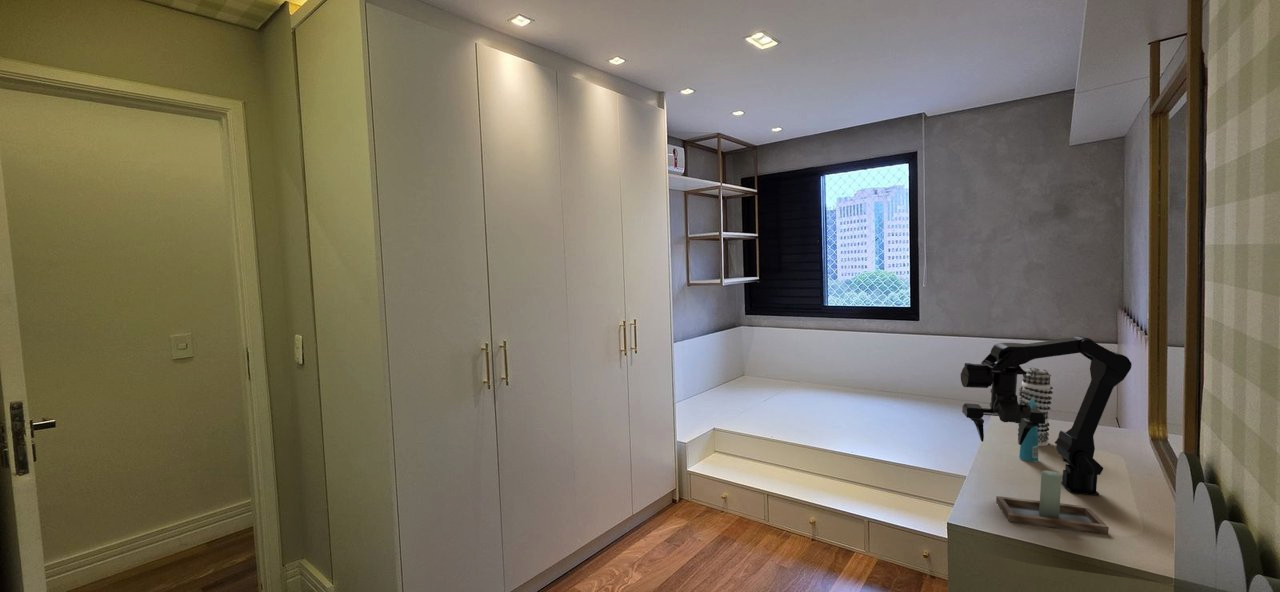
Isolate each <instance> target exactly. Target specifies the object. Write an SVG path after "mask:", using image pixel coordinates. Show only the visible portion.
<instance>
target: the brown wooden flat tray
mask: <svg viewBox="0 0 1280 592" xmlns="http://www.w3.org/2000/svg"><path fill="white" fill-rule="evenodd" d="M995 498H996V501H995V503H996V504H998V505H997V507H999V509H1000V511H1001V510H1002V511H1001V512H1002V514H1003V513H1004V514H1003V515H1004V516H1005V518H1006V520H1007V521H1008V523H1012V524H1013V523H1015V524H1023V525H1030V526H1038V527H1039V526H1040V527H1048V528H1055V529H1062V530H1069V531H1077V532H1083V533H1084V532H1086V533H1092V534H1094V533H1095V534H1102V535H1109V530H1110V528H1109V527H1110V526H1108V525H1107V524H1106V523H1105V522H1104V520H1102V519H1101V518H1100V517H1099V515H1097V514H1096V513H1095V512H1094V511H1093V510H1092V509H1091V508H1090V507H1089V506H1088V505H1087V506H1086V505H1078V504H1070V503H1061V502H1060V511H1059V519H1056V518H1047V517H1041V516H1040V515H1039V505H1040V500H1036V499H1035V500H1034V499H1026V498H1017V497H1009V496H1008V497H1007V496H999V495H997V496H996V497H995Z"/></svg>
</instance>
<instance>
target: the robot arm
mask: <svg viewBox="0 0 1280 592" xmlns="http://www.w3.org/2000/svg"><path fill="white" fill-rule="evenodd" d="M1073 354H1081V355H1083V357H1085V358H1087V359H1088V360H1090V366H1089V374H1090V378H1091V379H1090V383H1089V385H1088V388H1087V390H1086V392H1085V394H1084V397H1083V400H1082V402H1081V405H1080V407H1079V410H1078V412H1077V414H1076V417H1075V419H1074V421H1073V425H1071V426H1072V427H1071V428H1070V429H1068V430H1067V431H1063V430H1060V431H1059V433H1058V436H1057V439H1056V440H1055V441H1054V444H1055V451H1056V452H1057V453H1058V455H1060V456H1061V458H1062V461H1063V462H1064V463H1066V464H1065V465H1064V469H1063V470H1062V480H1061V485H1063V486H1064V487H1065V489H1067V490H1068V491H1069V493H1073V494H1081V495H1091V496H1100V493H1099V492H1098V491H1097V488H1098V487H1097V485H1098V476H1100V475H1101V474H1102V472H1103V471H1104V467H1103V466H1102V465H1101V464H1100V463H1099V462H1098V461H1097V460H1096V459H1094V455H1095V449H1096V448H1095V447H1096V446H1095V440H1094V439H1095V437H1094V436H1095V433H1096V431H1097V428H1098V426H1099V423H1100V421H1101V418H1102V417H1103V415H1104V412H1105V409H1106V406H1107V405H1108V401H1109V399H1110V397H1111V394H1112V392H1113V389H1114V388H1115V387H1116V386H1117V385H1118V384H1120V383H1121V382H1123V381H1124V380H1125V379H1126V377H1127V375H1128V374H1129V373H1130V371H1131V369H1132V367H1133V366H1132V365H1133V363H1132V362H1131V360H1130V359H1129V358H1128V356H1126V355H1124V354H1121V353H1119V352H1115V351H1112V350H1109V349H1107V348H1106V347H1104V346H1102V345H1100V344H1099V343H1097V342H1095V341H1094V340H1092V339H1091V338H1089V337H1086V336H1082V335H1075V336H1074V337H1073V336H1072V337H1067V338H1060V339H1051V340H1045V341H1037V342H1030V343H1021V342H1020V343H1019V342H997V343H995V344H993V347H992V348H991V349H990V353H989V354H988V355H986V357H985V358H984V359H983V360H982V361H981V363H971V362H965V363H964V365H963V368H962V370H961V372H960V383H961V385H962V387H964V388H971V389H973V388H975V389H988V388H989V387H991V388H990V393H991V395H990V397H991V398H990V403H989V407H990V408H987V407H985V408H984V407H982V406H981V405H980V404H979V403H966V402H964V404H963V405H962V409H961V410H962V411H961V412H962V414H963V415H964V416H965V417H966V418H968V419H970V420H971V421H973V423H974V425H975V428H976V431H977V434H978V436H979V439H980V441H981V442H984V438H985V437H984V436H985V431H984V422H985V420H984V419H983V417H984V416H993V417H999V421H1001V422H1003V423H1015V424H1018V425H1019V426H1018V428H1019V432H1018V431H1017V443H1018V445H1019V446H1020V445H1021V444H1022V443H1023V441H1024V439H1025V437H1026V435H1027V434H1028V432H1029V431H1030V429H1031V428H1033V427H1034V426H1039V424H1045V415H1044V414H1043V413H1042V412H1041V411H1039V410H1038V409H1037V408H1031V407H1030V406H1029V405H1023V404H1022V405H1021V404H1019V402H1018V395H1017V387H1018V386H1017V384H1018V375H1022V376H1023V375H1026V374H1027V373H1026V372H1025V370H1024V369H1023V368H1022V366H1021V365H1024V364H1027V363H1029V362H1031V361H1033V360H1036V359H1037V360H1038V359H1042V358H1045V359H1046V358H1050V357H1051V358H1052V357H1058V356H1059V357H1060V356H1066V355H1073Z"/></svg>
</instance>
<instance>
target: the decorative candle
mask: <svg viewBox="0 0 1280 592" xmlns="http://www.w3.org/2000/svg"><path fill="white" fill-rule="evenodd" d="M1024 371H1025V372H1026V373H1027V374H1026V375H1022V381H1021V386H1020V387H1019V389H1018V391H1019V393H1018V395H1019V396H1020V397H1019V402H1018V404H1021V405H1022V404H1023V405H1028V404H1029V401H1030V400H1031V399H1032V398H1033V397H1034V399H1035V404H1036V408H1037V409H1038V410H1039V411H1041V412H1042V413H1043V414H1044V415H1045V424H1039V426H1038V447H1039V446H1041V447H1042V446H1043V447H1045V446H1048V445H1049V442H1048V441H1049V436H1050V434H1049V432H1048V431H1050V428H1049V427H1050V423H1049V411H1051V409H1052V407H1050V405H1051V404H1052V402H1051V400H1052V399H1053V398H1052V397H1051V395H1052V394H1054V393H1053V391H1052V390H1053V388H1054V387H1053V386H1051V377H1052V375H1051V374H1050V373H1049V372H1048V371H1047V370H1046V369H1043V368H1039V367H1038V368H1036V367H1028V368H1026V369H1025V370H1024ZM1018 432H1019V424H1018V428H1017V433H1018Z"/></svg>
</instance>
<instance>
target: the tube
mask: <svg viewBox="0 0 1280 592" xmlns="http://www.w3.org/2000/svg"><path fill="white" fill-rule="evenodd" d="M1028 405H1029V406H1030V407H1031V408H1036V404H1035V399H1034V397H1033V398H1032V399H1031V400H1030V401H1029V404H1028ZM1019 459H1020V460H1022V461H1023V462H1029V463H1036V462H1038V461H1039V446H1038V426H1034V427H1033V428H1031V429H1030V431H1029V432H1028V434H1027V435H1026V437H1025V439H1024V441H1023V443H1022V444H1021V445H1019Z"/></svg>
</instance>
